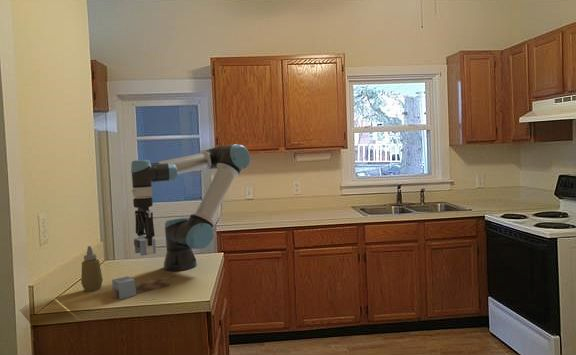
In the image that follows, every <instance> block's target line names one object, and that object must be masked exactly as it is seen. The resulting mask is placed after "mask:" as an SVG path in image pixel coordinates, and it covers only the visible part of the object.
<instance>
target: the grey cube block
mask: <svg viewBox="0 0 576 355" xmlns="http://www.w3.org/2000/svg"><path fill="white" fill-rule="evenodd" d="M145 237H146V236H145ZM145 237H144V238H138V237H137V238H134V239H133V246H134V254H140V256H148V255H150V254H146V243H145ZM152 240H153V253H152V254H151V255H153V254H157V253H156V252H157V249H156V239H155V238H154V237H153V238H152Z"/></svg>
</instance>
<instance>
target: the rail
mask: <svg viewBox="0 0 576 355" xmlns="http://www.w3.org/2000/svg"><path fill="white" fill-rule="evenodd" d="M170 279H171V278H170V277H168V276H162V277H159V278H155V279H151V280H146V281H141V282H138V283H136V286H135V287H136V295H137V294H139V293H144V292H149V291H153V290H156V289H160V288H165V287H169V286H170V285H171V280H170ZM111 291H112V292H111V293H112V298H113V299H116V300H117V299H119V291H118V290H117V289H113V288H112V289H111Z"/></svg>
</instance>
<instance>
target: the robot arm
mask: <svg viewBox="0 0 576 355" xmlns="http://www.w3.org/2000/svg"><path fill="white" fill-rule="evenodd" d="M250 162H251V156H250V152H249V150H248V149H247V147H245V146H244V145H243V144H230V145H219V146H215V147H213V148H208V149H205V150H201V151H200V153H196V154H190V155H186V156H181V157H176V158H170V159H167V160H161V161H157V162H152V163H151V161H150V159H139V160H138V159H137V160H132V161H131V165H130V166H131V167H130V169H131V170H130V172H131V183H132V190H131V193H132V197H133V200H132V201H133V202H132V203H133V208H136V209H137V210H135V211H134V216H135V234H137V238H144V237H145V243H146V254H149V255H153V254H152V253H153V240H152V238H154V237H155V236H156V235H155V226H154V214H153V211H150V207H152V206H153V204H154V202H153V186H152V183H156V182H157V183H158V182H161V183H162V182H171V181H176V179H177V178H178V175H180V174H186V173H189V172H193V171H199V170H206V171H208V170H212V169H215V170H217V171H216V172H215V174H214V176H213V178H212V180H211V182H210V184H209V185H208V188H207V189H206V191H205V193H204V196H203V197H202V200H200V201H201V202H200V203H199V205H198V208H197V210H196V211H195V212H194V213H192V214H190V216H189V217H188V216H186V217H180V218H173V219H168V220H166V221H165V223H164V232H165V234H164V235H165V245H166V254H165V257H164V260H163V261H164V262H163V269H164V270H165V271H172V272H173V271H176V272H178V271H184V270H189V269H192V268H195V267H197V265H198V264H197V262H198V261H197V259H196V255H195V254H194V251H193V249H194V250H203V249H205V248H207V247H208V246H210V244H211V243H212V242H213V239H214V226H215V225H214V219H215V216H216V215H217V213H218V211H219V209H220V207H221V205H222V202H223V200H224V199H225V197H226V194H227V192H228V190H229V188H230V186H231V184H232V182H233V180H234V178H236V177H238V176H239V175H240V173H241V171H242V170H244V169H246V168H248V166H249V164H250Z"/></svg>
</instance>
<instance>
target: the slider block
mask: <svg viewBox="0 0 576 355" xmlns="http://www.w3.org/2000/svg"><path fill="white" fill-rule="evenodd" d="M136 284H137V283H136V279H135V278H133V277H130V276H128V275H127V276H124V277H119V278H114V279H112V289H117V290H118V291H119V298H118V299H120V300H122V299H126V298H131V297H135V296H137V294H136V287H135V286H136Z"/></svg>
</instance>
